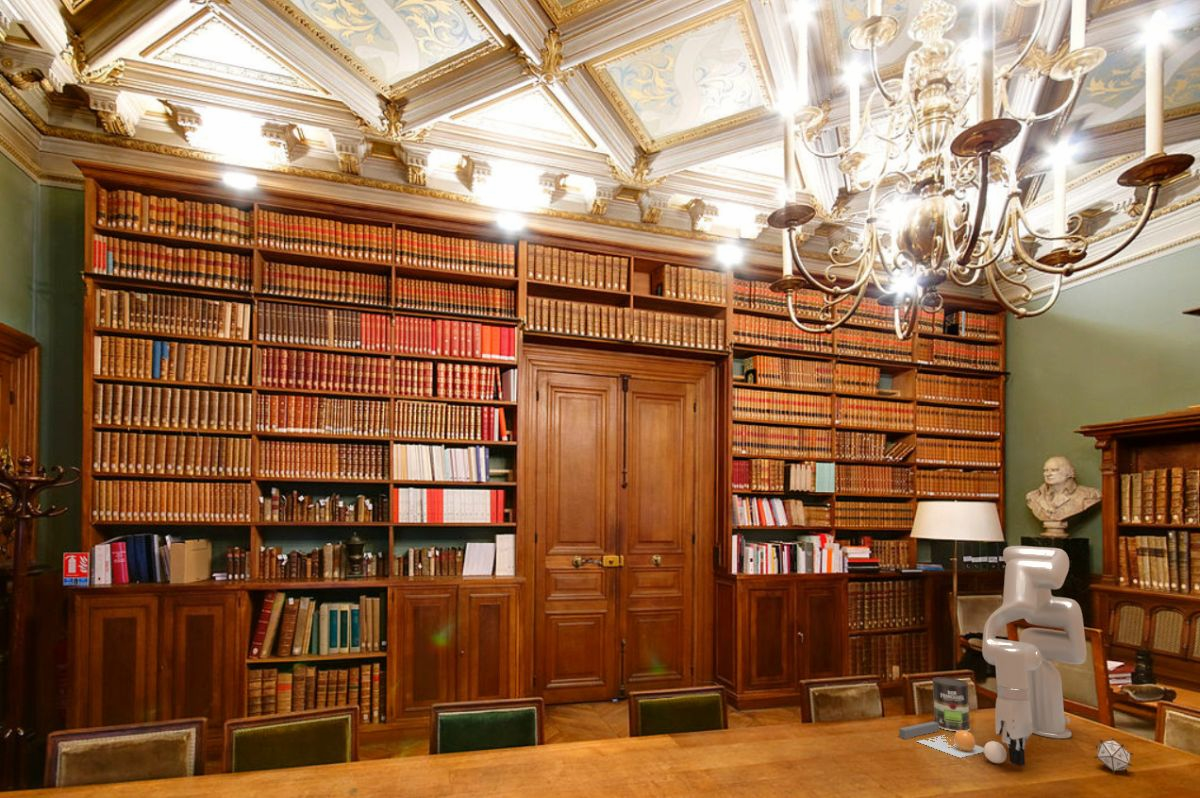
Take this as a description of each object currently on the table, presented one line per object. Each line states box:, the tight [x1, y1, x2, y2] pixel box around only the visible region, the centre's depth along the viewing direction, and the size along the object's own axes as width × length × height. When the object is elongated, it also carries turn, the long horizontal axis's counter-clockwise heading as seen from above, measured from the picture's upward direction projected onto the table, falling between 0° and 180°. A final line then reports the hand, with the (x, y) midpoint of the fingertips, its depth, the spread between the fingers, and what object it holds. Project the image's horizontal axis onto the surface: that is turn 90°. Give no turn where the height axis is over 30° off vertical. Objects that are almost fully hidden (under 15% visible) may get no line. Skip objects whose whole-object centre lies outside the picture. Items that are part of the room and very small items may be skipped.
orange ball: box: [953, 730, 976, 751], centre depth 195 cm, size 6×6×6 cm
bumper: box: [898, 720, 940, 740], centre depth 208 cm, size 16×2×2 cm, turn 118°
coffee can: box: [931, 676, 971, 733], centre depth 216 cm, size 10×10×14 cm
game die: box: [1093, 737, 1134, 775], centre depth 182 cm, size 9×8×10 cm
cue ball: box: [983, 740, 1008, 764], centre depth 186 cm, size 6×6×6 cm
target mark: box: [915, 734, 984, 759], centre depth 198 cm, size 14×14×1 cm
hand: (1017, 763), depth 181 cm, fingers closed
